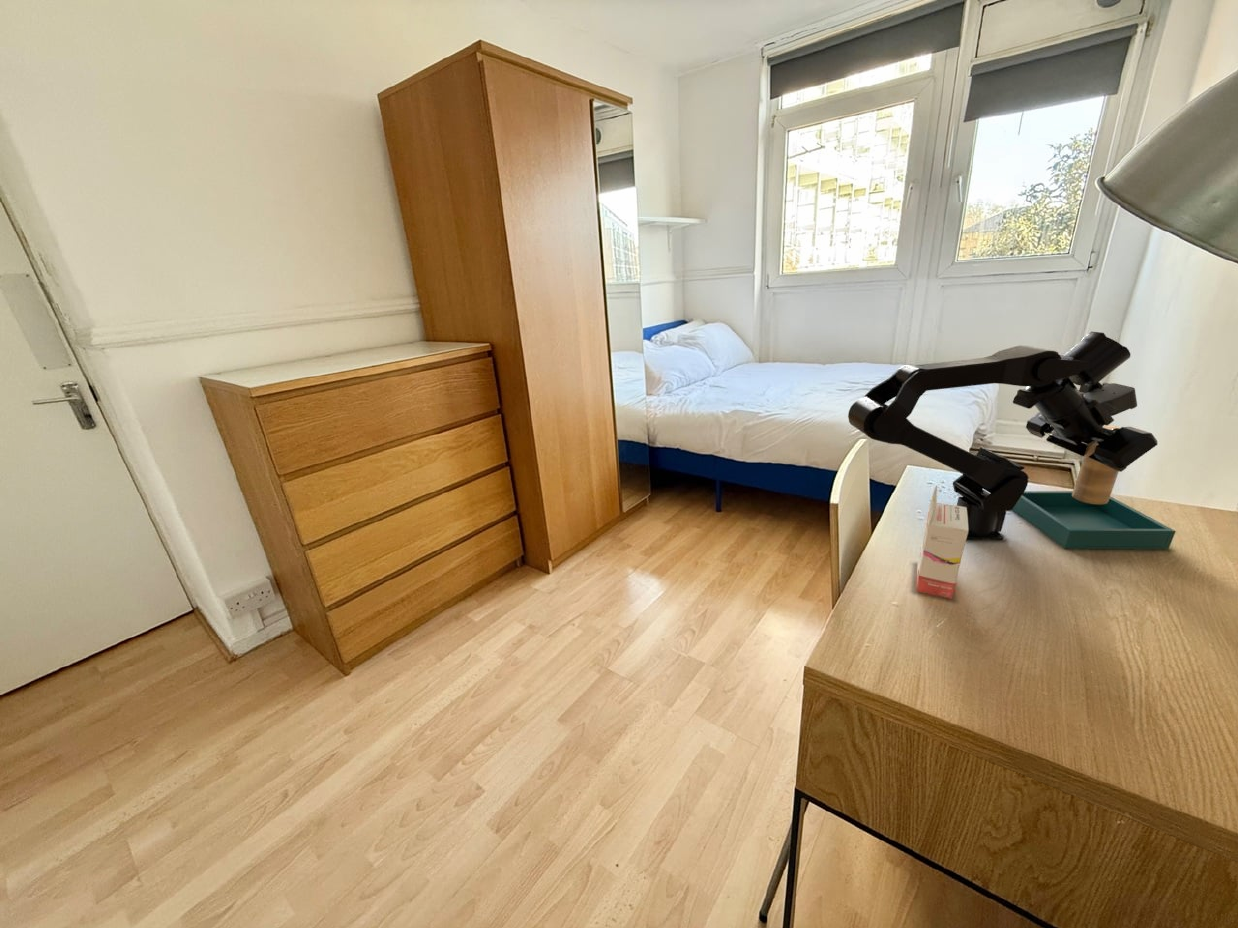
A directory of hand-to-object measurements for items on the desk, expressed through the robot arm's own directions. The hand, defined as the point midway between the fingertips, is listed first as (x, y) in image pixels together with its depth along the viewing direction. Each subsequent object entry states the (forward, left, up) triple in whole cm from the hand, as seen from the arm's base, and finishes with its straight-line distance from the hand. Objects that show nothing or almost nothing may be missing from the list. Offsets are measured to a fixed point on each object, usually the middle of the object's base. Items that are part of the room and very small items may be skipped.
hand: (1109, 464), depth 85 cm
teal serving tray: (-1, 0, -12) cm, 12 cm away
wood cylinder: (-1, 0, -7) cm, 7 cm away
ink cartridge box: (-34, -18, -12) cm, 41 cm away
